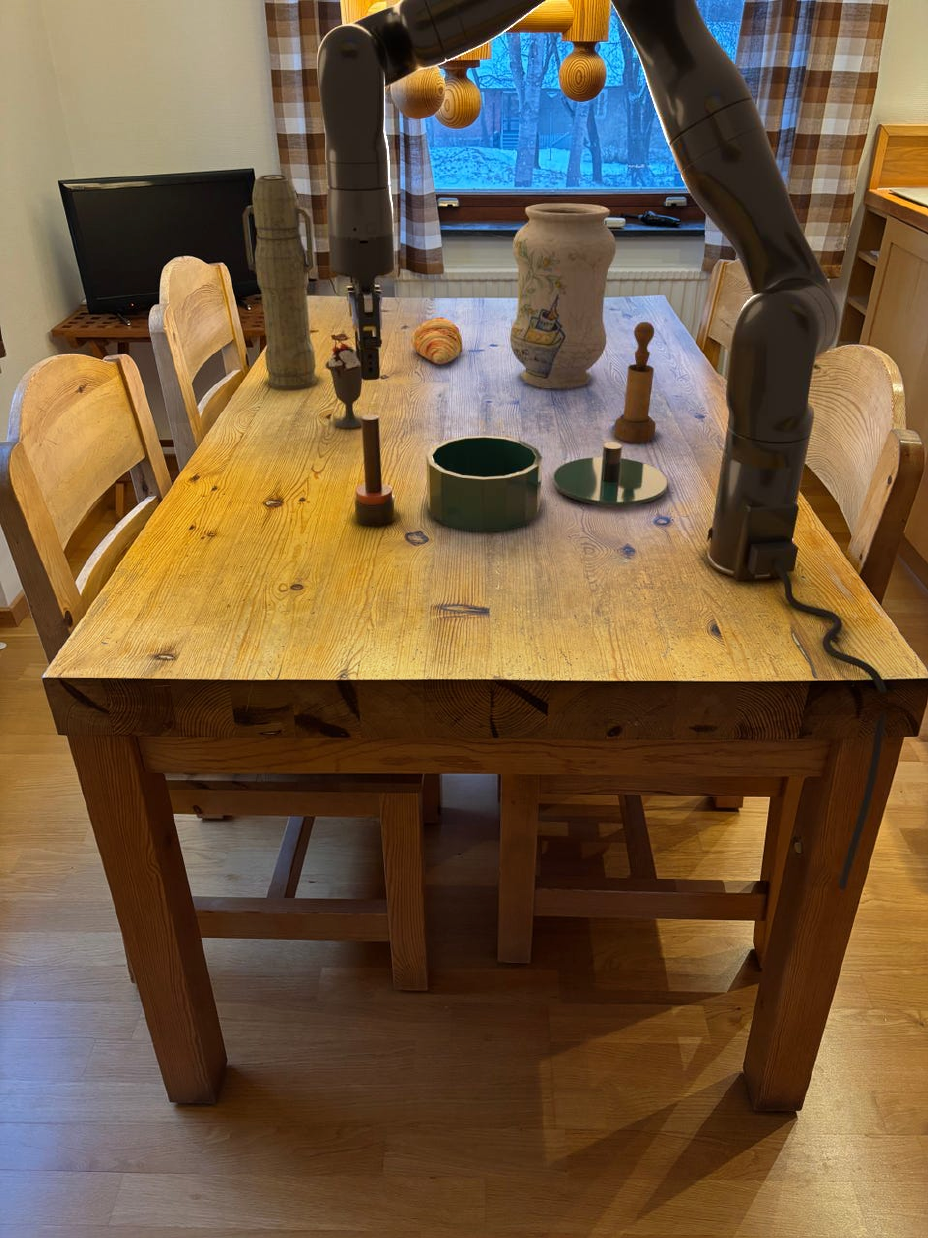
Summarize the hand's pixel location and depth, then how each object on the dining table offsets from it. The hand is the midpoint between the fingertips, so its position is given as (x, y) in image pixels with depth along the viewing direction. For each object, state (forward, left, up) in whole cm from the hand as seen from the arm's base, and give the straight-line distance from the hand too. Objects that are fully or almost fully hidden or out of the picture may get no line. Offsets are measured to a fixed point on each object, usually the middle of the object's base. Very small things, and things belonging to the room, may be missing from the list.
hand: (367, 368), depth 119 cm
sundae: (+37, +1, -21) cm, 42 cm away
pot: (+1, -15, -20) cm, 25 cm away
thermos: (+61, +10, -21) cm, 65 cm away
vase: (+55, -39, -21) cm, 70 cm away
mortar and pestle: (+24, -44, -21) cm, 54 cm away
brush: (0, 0, -20) cm, 20 cm away
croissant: (+75, -19, -21) cm, 80 cm away
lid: (+5, -34, -20) cm, 40 cm away
